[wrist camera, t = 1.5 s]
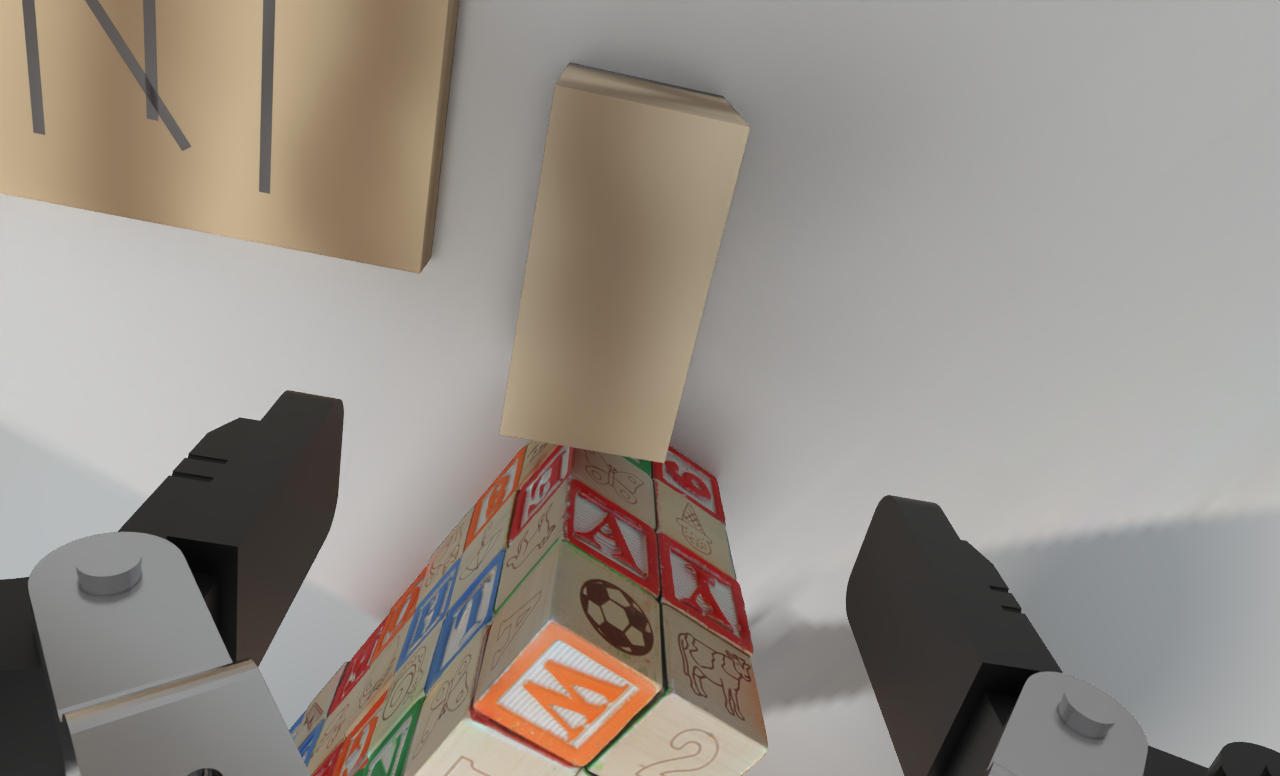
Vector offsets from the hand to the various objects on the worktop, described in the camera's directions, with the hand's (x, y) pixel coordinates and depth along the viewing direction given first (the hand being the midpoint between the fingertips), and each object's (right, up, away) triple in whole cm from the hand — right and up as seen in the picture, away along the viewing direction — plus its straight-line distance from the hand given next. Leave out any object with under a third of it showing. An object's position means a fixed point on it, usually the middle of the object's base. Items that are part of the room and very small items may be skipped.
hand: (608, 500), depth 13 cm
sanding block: (0, +7, +14) cm, 15 cm away
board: (-12, +11, +11) cm, 20 cm away
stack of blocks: (-6, -7, +21) cm, 23 cm away
